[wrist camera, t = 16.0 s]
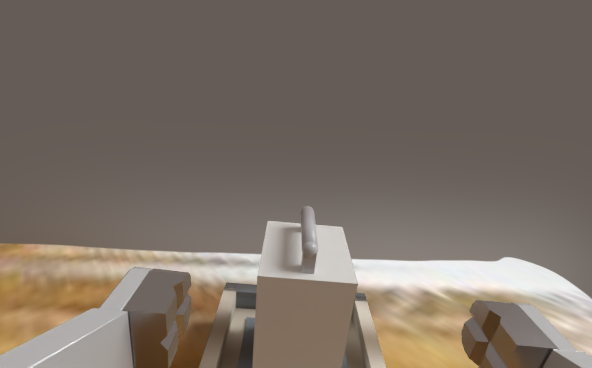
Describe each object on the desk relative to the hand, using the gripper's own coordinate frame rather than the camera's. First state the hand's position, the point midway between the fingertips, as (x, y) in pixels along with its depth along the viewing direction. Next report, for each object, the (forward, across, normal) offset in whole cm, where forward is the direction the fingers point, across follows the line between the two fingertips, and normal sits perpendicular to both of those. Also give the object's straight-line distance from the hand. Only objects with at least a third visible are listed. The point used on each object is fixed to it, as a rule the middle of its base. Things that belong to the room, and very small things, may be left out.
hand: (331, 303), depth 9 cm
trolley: (+12, -1, +17) cm, 20 cm away
